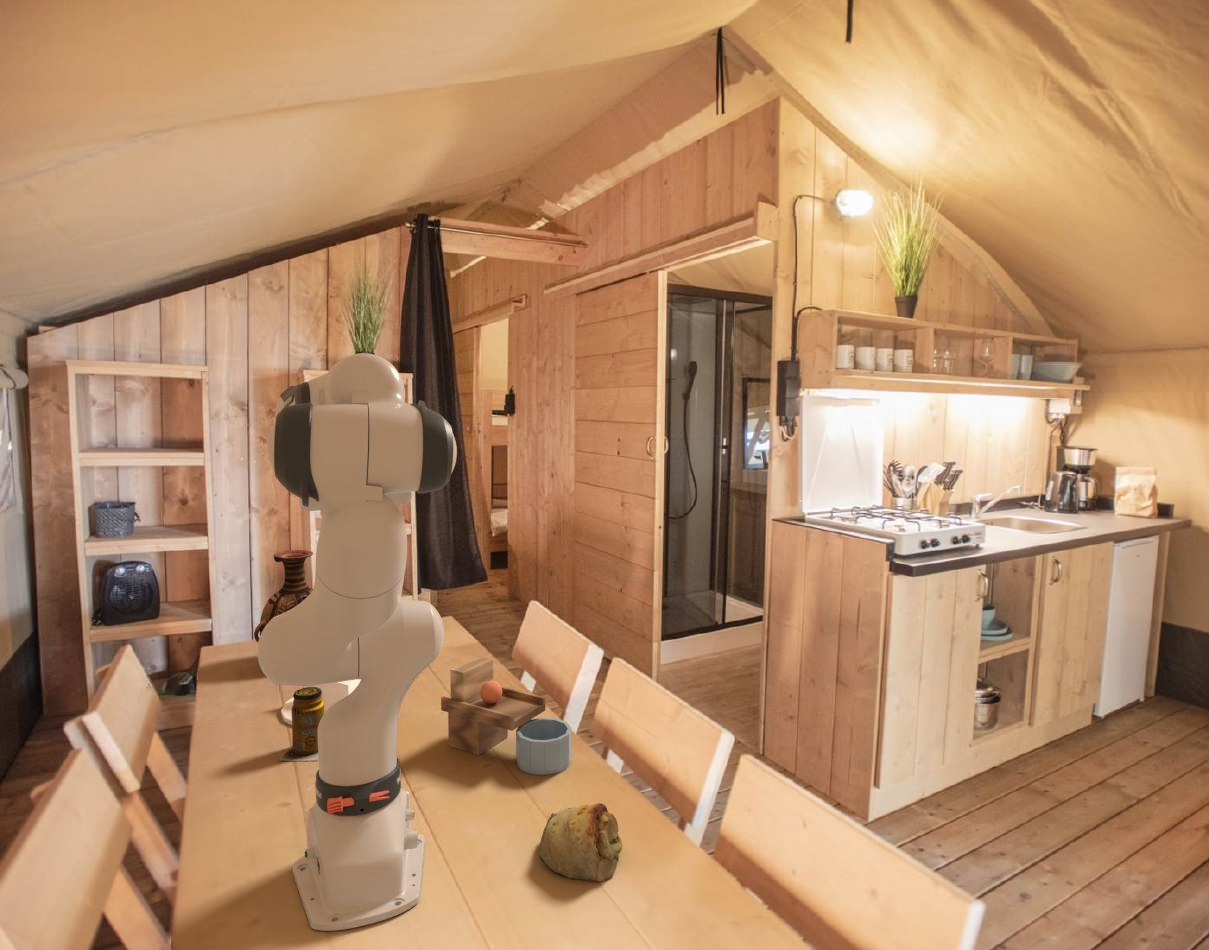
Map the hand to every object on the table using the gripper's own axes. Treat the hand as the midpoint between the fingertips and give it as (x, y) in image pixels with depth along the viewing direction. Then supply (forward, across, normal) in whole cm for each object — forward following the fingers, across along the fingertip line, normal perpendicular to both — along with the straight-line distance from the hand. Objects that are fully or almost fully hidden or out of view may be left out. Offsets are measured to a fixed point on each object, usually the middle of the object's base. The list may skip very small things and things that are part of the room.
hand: (358, 530), depth 133 cm
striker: (+36, +20, -6) cm, 42 cm away
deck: (+45, +23, -11) cm, 51 cm away
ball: (+34, +22, -10) cm, 42 cm away
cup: (+45, +28, -22) cm, 57 cm away
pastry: (+45, +17, -50) cm, 70 cm away
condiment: (+45, -8, +9) cm, 47 cm away
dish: (+46, +3, +28) cm, 54 cm away
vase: (+46, +2, +64) cm, 79 cm away
